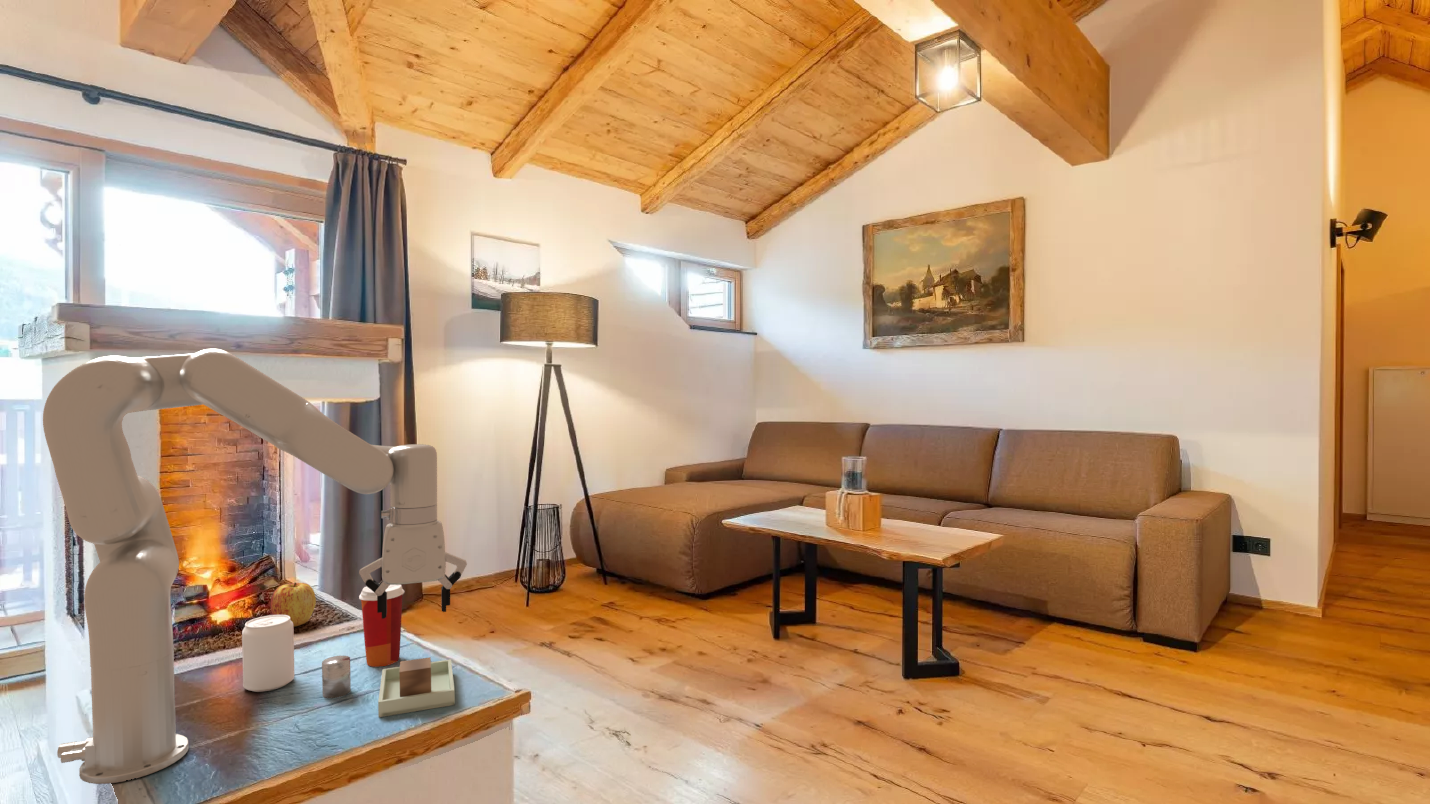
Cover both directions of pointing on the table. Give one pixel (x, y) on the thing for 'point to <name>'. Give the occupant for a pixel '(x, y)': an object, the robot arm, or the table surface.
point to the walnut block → (415, 677)
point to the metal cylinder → (336, 677)
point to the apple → (294, 602)
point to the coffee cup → (382, 626)
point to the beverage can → (268, 653)
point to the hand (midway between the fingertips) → (414, 612)
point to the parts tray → (436, 698)
